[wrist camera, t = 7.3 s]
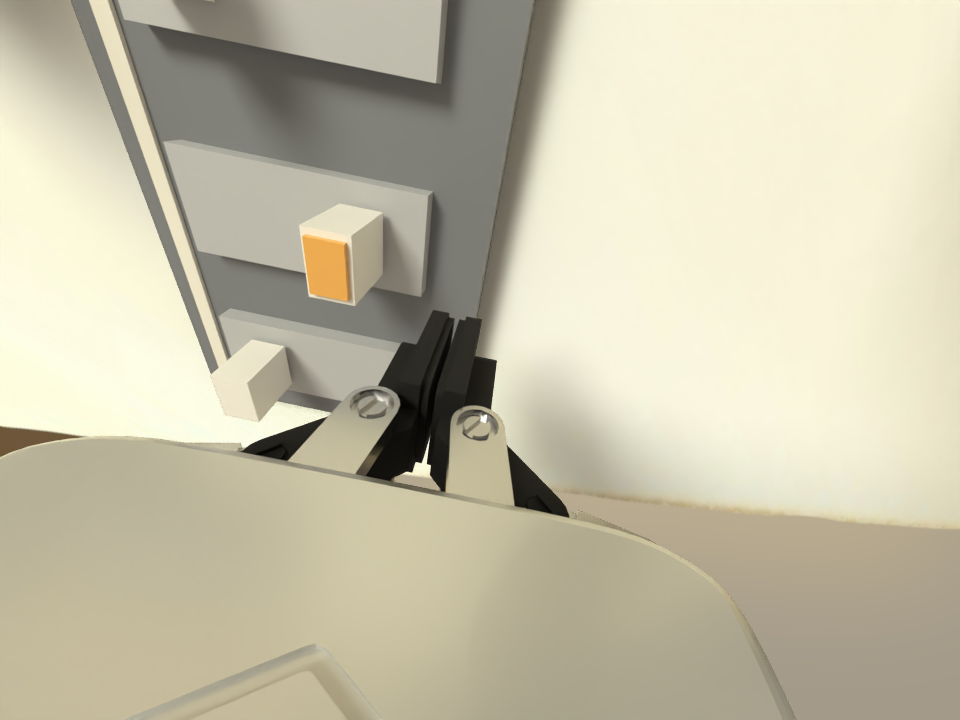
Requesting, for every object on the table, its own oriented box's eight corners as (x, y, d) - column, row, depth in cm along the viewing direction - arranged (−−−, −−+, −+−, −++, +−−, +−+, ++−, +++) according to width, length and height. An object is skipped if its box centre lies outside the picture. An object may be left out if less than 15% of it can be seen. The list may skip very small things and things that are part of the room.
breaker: (284, 346, 22) (247, 383, 19) (291, 383, 23) (259, 422, 21) (252, 339, 22) (209, 375, 19) (262, 377, 23) (224, 415, 21)
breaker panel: (569, -188, 11) (579, -265, 9) (458, 418, 28) (451, 448, 26) (18, -301, 11) (-121, -409, 9) (234, 371, 28) (206, 397, 26)
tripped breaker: (383, 212, 16) (348, 237, 13) (382, 273, 18) (352, 308, 15) (339, 203, 16) (295, 226, 13) (344, 265, 18) (306, 299, 15)
